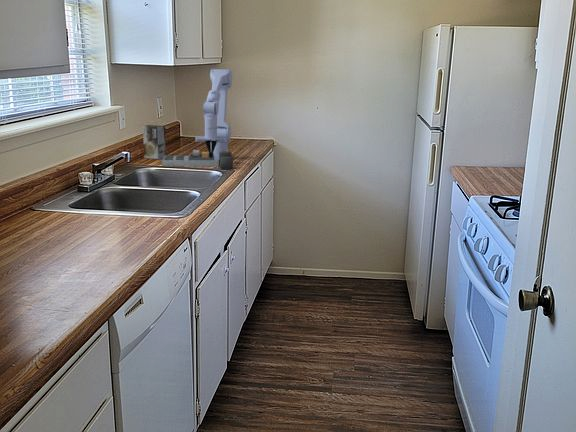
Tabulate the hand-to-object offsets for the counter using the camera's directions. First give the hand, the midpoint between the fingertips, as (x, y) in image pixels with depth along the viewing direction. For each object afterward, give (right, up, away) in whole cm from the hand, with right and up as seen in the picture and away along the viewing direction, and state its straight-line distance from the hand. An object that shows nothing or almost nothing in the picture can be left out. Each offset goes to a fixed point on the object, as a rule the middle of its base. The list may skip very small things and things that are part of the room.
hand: (211, 156), depth 274 cm
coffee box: (-31, +1, +18) cm, 35 cm away
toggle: (-3, -1, 0) cm, 3 cm away
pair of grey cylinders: (+7, -4, +2) cm, 8 cm away
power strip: (-10, -3, +3) cm, 11 cm away
